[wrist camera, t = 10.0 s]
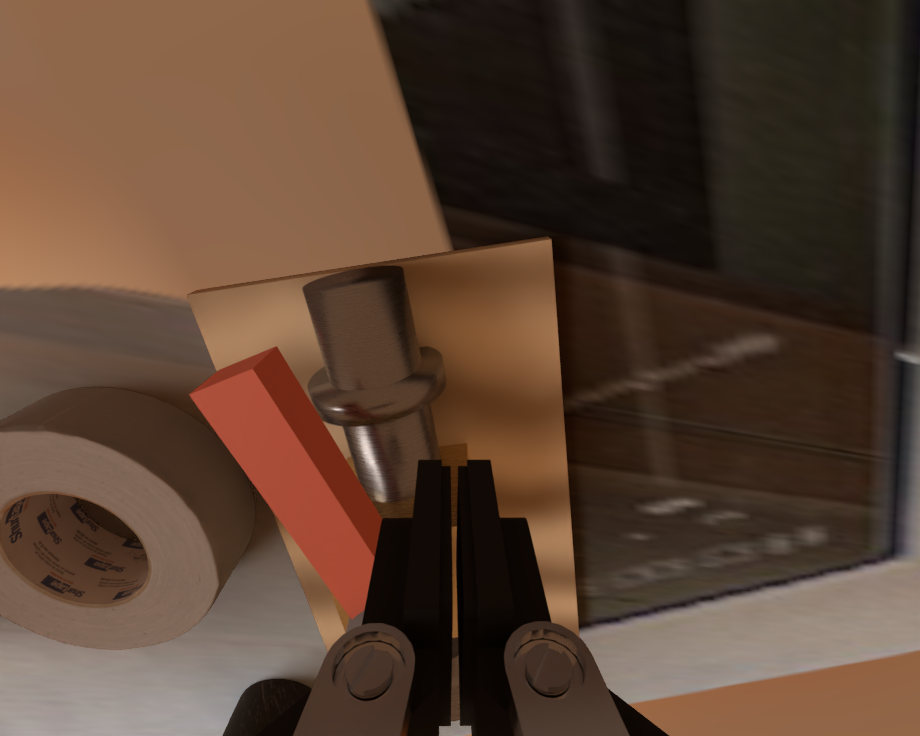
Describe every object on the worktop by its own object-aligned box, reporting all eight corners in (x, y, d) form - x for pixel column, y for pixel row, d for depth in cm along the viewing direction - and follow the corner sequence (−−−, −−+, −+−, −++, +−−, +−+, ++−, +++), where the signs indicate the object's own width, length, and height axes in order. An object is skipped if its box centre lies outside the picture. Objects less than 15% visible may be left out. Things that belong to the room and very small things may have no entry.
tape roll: (-11, 357, 25) (-118, 399, 21) (266, 418, 27) (224, 470, 22) (24, 558, 31) (-53, 625, 27) (249, 599, 33) (213, 670, 28)
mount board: (576, 629, 33) (579, 642, 32) (336, 651, 34) (333, 664, 34) (547, 236, 22) (551, 239, 21) (197, 290, 23) (186, 295, 23)
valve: (501, 636, 34) (510, 756, 27) (408, 644, 34) (393, 765, 27) (436, 253, 23) (424, 289, 16) (300, 274, 23) (230, 318, 16)
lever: (465, 614, 22) (465, 670, 19) (382, 638, 22) (372, 694, 20) (303, 333, 16) (275, 362, 14) (199, 376, 17) (155, 411, 14)
